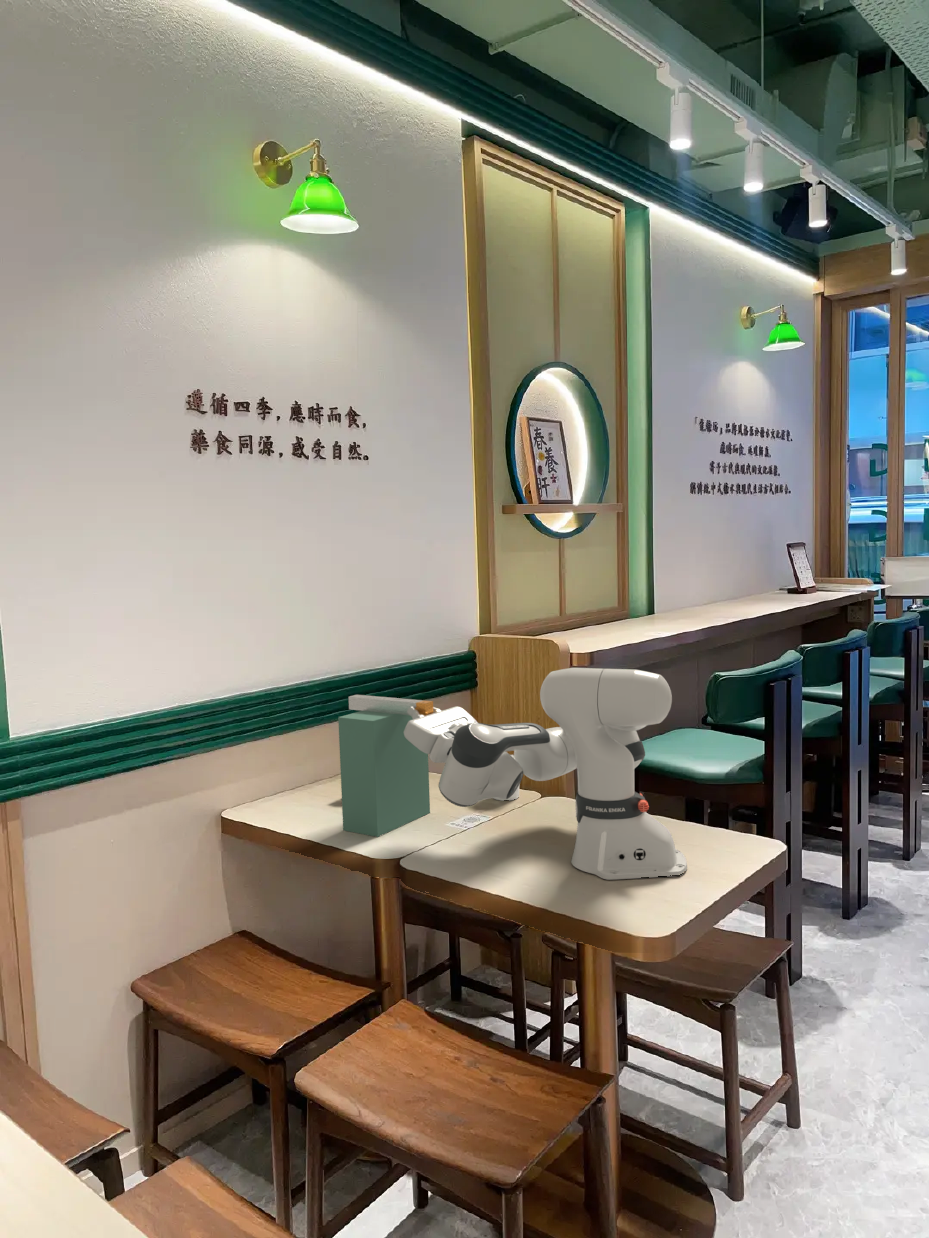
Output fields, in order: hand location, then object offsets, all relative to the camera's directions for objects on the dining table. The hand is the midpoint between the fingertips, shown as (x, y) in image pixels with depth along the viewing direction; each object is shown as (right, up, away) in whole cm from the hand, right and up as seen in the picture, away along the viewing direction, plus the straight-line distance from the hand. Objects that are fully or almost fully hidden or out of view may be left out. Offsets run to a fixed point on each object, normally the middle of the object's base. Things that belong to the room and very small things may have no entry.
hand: (415, 707), depth 209 cm
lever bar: (-6, -1, +4) cm, 7 cm away
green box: (-7, -27, +8) cm, 29 cm away
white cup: (+21, -25, +25) cm, 41 cm away
